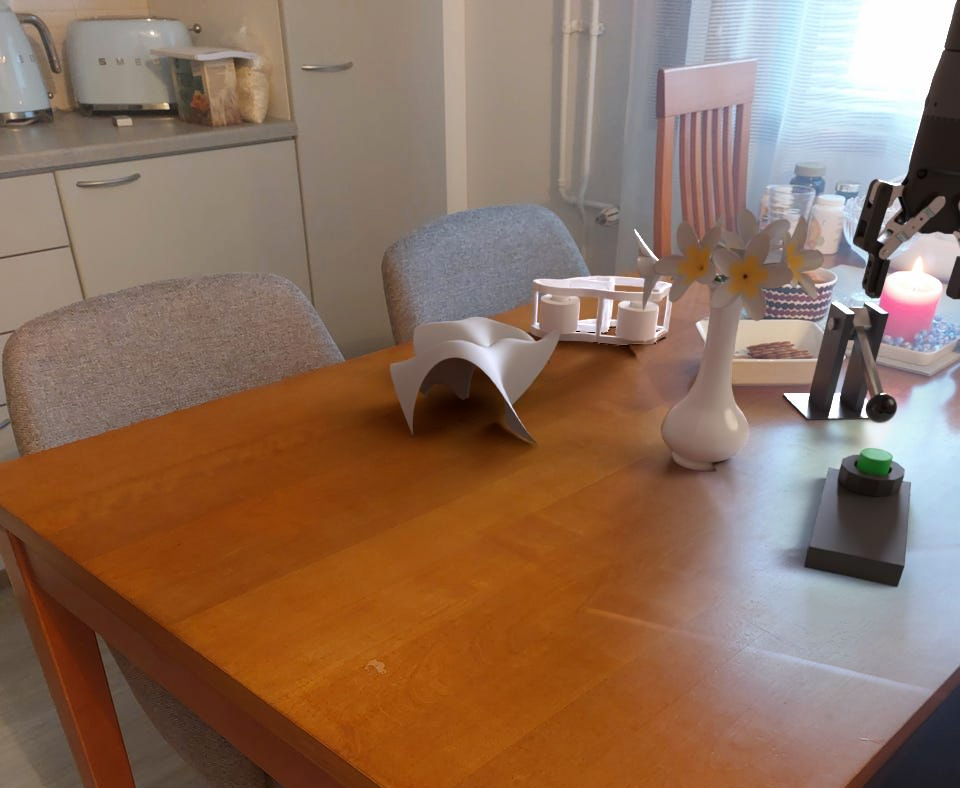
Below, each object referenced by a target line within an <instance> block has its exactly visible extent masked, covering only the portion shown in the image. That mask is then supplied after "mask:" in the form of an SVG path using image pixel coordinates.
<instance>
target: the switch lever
mask: <svg viewBox="0 0 960 788" xmlns="http://www.w3.org/2000/svg"><path fill="white" fill-rule="evenodd" d="M847 308H848V309H849V310H850V311H852V312H853V313H855V316H854V320H853V324H852V328H851V332H850V336H849V340H848V341H853V344H855V347H856V350H857V354H858V357H859V360H860V364H861V367H862V371H863V374H864V377H865V381H866V384H867V387H868V391H867V392H868V394H869V397H870V398H869V399H868V402H867V405H866V415H867V417H868V418H869V419H868V420H870V421H871V422H873V423H876V424H885V423H887V422H889V421H891V420H892V419H893V418H894V417H895V415H896V413H897V411H898V403H897V400H896V399H895V397H894V396H893V395H891V394H889V393H886V392H885V391H884V388H883V385H882V382H881V378H880V376H879V372H878V368H877V365H876V362H874V358H873V355H872V352H871V349H870V345H869V342H868V339H867V336H866V335H867V333H868V332H869V330H870V328H871V327H872V324H871V320H870V317H869V314H868V311H867V308H866V307H863V306H849V307H847Z"/></svg>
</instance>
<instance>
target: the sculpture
mask: <svg viewBox="0 0 960 788" xmlns="http://www.w3.org/2000/svg"><path fill="white" fill-rule="evenodd" d="M560 333H561V332H560V330H555V331H552V332H550V333H548V334H547V335H545V336H544V337H543V338H540V339H539V340H535V339H534V337H532V336H531V335H530V334H528V333H527V332H525V331H524V330H522V329H521V328H518V327H517V326H513V325H510V324H508V323H503V322H500V321H498V320H494V319H491V318H487V317H482V316H470V317H466V318H464V319H459V320H446V321H437V322H436V321H435V322H428V323H422V324H418V325H416V327H415V328H414V331H413V336H412V344H413V352H414V356H412V357H410V358H408V359H406V360H403V361H399V362H395V363H394V362H393V363H391V364H390V365H389V371H390V372H389V373H390V376H391V377H390V378H391V381H392V384H393V387H394V390H395V393H396V396H397V399H398V401H399V403H400V407H401V409H402V412H403V414H404V418H405V420H406V422H407V425H408V427H409V430H410V433H411V435H412V436H414V426H413V425H414V424H413V422H414V411H415V405H416V400H417V397H418V393H419V392H420V394H421V395H422V396H424V398H425V397H427V395H428V393H429V391H430V390H431V389H432V388H433V386H435V385H438V384H439V385H440V384H441V385H445V386H447V387H448V388H450V389H451V390H452V391H453V393H455V394H456V396H457V398H458V399H461V400H462V401H464V400H466V399H469V395H470V386H471V382H472V377H473V373H474V372H475V369H476V367H478V368H479V369H481V370H482V371H483V372H484V373H485V375H487V376H488V377H489V379H490V380H491V381H492V382H493V384H494V385H495V386H496V388H497V389H498V390H499V392H500V393H501V394H502V396H503V398H504V423H505V425H506V427H507V428H508V429H509V430H510V431H512V433H514V434H516V435H517V436H519V437H521V438H522V439H524V440H527V441H529V442H530V443H533V444H535V445H537V446H539V443H538V442H537V441H536V440H535V439H534V438H533V437H532V436H531V434H530V433H529V432H528V431H527V429H526V427H525V426H524V425H523V423H522V421H521V420H520V418H519V416H518V414H517V413H516V411H515V409H514V407H513V405H514V404H515V403H516V402H517V400H519V398H521V396H523V394H524V393H525V392H526V391H527V390H528V389H529V387H530V386H531V385H532V384H533V382H534V381H535V380H536V379H537V378H538V376H539V374H541V372H542V370H543V369H544V368H545V366H546V365H547V363H548V364H549V366H551V363H550V358H551V356H552V355H553V353H554V351H555V349H556V348H557V345H558V343H559V341H560V340H559V338H560Z"/></svg>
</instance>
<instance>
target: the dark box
mask: <svg viewBox="0 0 960 788" xmlns="http://www.w3.org/2000/svg"><path fill="white" fill-rule="evenodd" d="M859 456H860V454H850V455H848V456H845V457H844V458H842V460H841V463H840V467H839V468H833V467H828V469H827V473H826V477H825V481H824V485H823V489H822V493H821V497H820V501H819V505H818V507H817V513H816V517H815V521H814V524H813V529H812V533H811V536H810V540H809V545H808V548H807V552H806V556H805V560H804V564H803V568H806V569H810V570H816V571H820V572H823V573H824V572H825V573H829V574H834V575H839V576H844V577H847V578H848V577H849V578H852V579H857V580H862V581H867V582H871V583H876V584H881V585H884V586H885V585H886V586H890V587H895V588H898V587H899V584H900V581H901V579H902V575H903V572H904V569H905V567H906V556H907V555H906V554H907V541H908V527H909V515H910V501H911V487H912V482H911V481H906V480H904V479H905V471H906V470H905V468H904V467H902V465H900V464H899V462H896V461H894V460H892V462H891V465H890V468H889V471H888V474H886V475H874V474H869V473H865V472H863V471H860V470H858V469H857V468H856V467H857V463H858V459H859Z"/></svg>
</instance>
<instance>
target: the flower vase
mask: <svg viewBox="0 0 960 788" xmlns="http://www.w3.org/2000/svg"><path fill="white" fill-rule="evenodd" d="M725 218H726V214H725V213H723V214H721V215H720V217H718V219H717V220H716V222H715V224H714V225H713V227H712V228H710V229H709V230H707V231H706V232H705V233H704V235H703V236H702V238H698V236H697V233H696V231H695V228H694V227H693V225H692V224H691V223H690V222H689V221H687V220H683V221H681V222H680V223H679V224H678V227H677V230H676V243H677V247H678V249H679V252H680V253H681V254H682V255H681V254H678V253H677V254H675V253H673V254H667V255H664V256H662V257H660V258H659V259H658V258H657V256H656V255H655V254H654V253H653V252H652V251H651V250H650V248H649V247H648V246H647V244H646V243H645V242H644V240H643V239H642V238H641V236H640V235H639V233H638V232H637V230H636V228H634V230H633V231H634V235H635V240H636V243H637V246H638V256H637V257H636V268H637V273H638V276H639V278H643V279H645V281H644V287H643V291H642V292H643V301H642V302H643V304H642V305H643V311H644V309H645V306H646V304H647V301H648V299H649V297H650V294H651V292H652V290H653V291H654V289H653V288H654V287H655V285H656V283H657V282H658V281H660V278H661V276H662V277H671V278H670V282H672V281H673V282H672V283H671V284H672V286H671V288H670V291H669V301H670V302H672V304H673V303H677V302H678V301H679V300H681V298H682V297H683V296H684V295H685V294H686V292H688V290H689V289H690V287H691V286H692V285H693V284H694V283H695V282H697V283H699V284H700V285H707V287H708V290H709V312H708V313H709V314H708V324H707V330H706V334H705V335H706V336H705V341H704V345H703V350H702V356H701V360H700V365H699V367H698V372H697V374H696V378H695V380H694V382H693V384H692V386H691V388H690V389H689V390H688V392H687V394H686V395H685V396H684V397H683V398H682V399H680V400H679V401H678V402H677V403H675V404H674V405H673V406H672V407H671V408H670V409H669V410H668V411H667V413H666V415H665V416H664V418H663V420H662V423H661V425H660V432H661V437H662V440H663V441H664V444H665V445H666V446H667V448H668V449H669V450H670V451H671V457H672V460H673V461H674V463H676V465H679V466H681V467H683V468H685V469H688V470H691V471H699V472H714V471H717V468H716V467H715V465H714V463H719V462H723V461H726V460H729V459H732V458H733V457H735V456H737V455H738V454H739V453H740V452H741V451H743V450H744V448H746V446H747V444H748V442H749V438H750V426H749V423H748V420H747V417H746V415H745V414H744V412H743V410H742V409H741V408H740V407H739V406H738V404H737V402H736V399H735V396H734V391H733V384H732V373H733V365H734V364H733V363H734V356H735V351H736V350H735V349H736V342H737V336H738V330H739V325H740V321H741V317H742V314H743V311H745V313H746V314H747V316H748V317H749V318H750V319H751V320H753V321H754V322H759V321H761V320H763V319H764V317H765V315H766V312H767V298H766V295H765V293H764V290H763V289H776V288H781V287H784V286H786V285H787V284H789V285H790V286H791V287H792V288H796V287H798V286H799V287H800V288H801V289H802V290H803V291H804V292H805V293H806V294H807V295H808V296H809V298H811V299H812V300H817V298H818V291H817V286H816V284H815V282H814V280H813V279H812V277H811V275H810V274H808V273H807V272H811V271H812V272H813V271H816V270H818V269H820V268H821V267H822V266H823V265H824V261H825V259H824V255H823V253H822V252H821V251H820V250H819V249H817V248H813V247H812V248H811V247H809V248H804V249H802V248H803V247H804V246H805V244H806V243H807V242H806V241H807V238H808V222H807V219H806V217H805V216H803V215H802V216H801V217H800V218H799V219H798V221H797V224H796V226H795V228H794V231H793V233H792V235H791V233H790V229H791V222H790V220H789V219H787V218H780V219H777V220H774V221H771V223H769V224H768V225H766V226H765V227H764V228H763V229H762V230H761V231H760V228H759V223H758V220H757V218H756V216H755V214H754V213H753V212H752V211H751V210H749V208H745V207H743V208H741V209H740V210H738V213H737V215H736V228H737V232H738V234H737V233H736V232H733V231H730V230H726V229H724V225H725V220H726V219H725ZM781 240H782V245H781V244H778V243H779V242H781ZM717 271H718V272H719V273H720V274H718V273H717ZM805 272H806V273H805Z"/></svg>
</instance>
